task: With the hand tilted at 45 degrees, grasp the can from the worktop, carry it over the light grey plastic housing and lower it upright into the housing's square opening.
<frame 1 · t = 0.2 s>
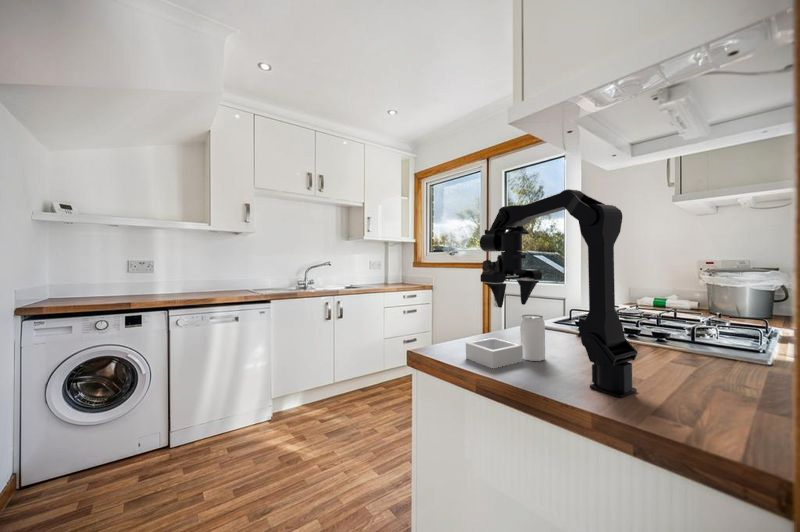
hand: (511, 305, 95), 15 cm above the counter, tool pointing down, fingers open, 9 cm apart
housing: (493, 359, 94), on the counter
can: (532, 359, 94), on the counter
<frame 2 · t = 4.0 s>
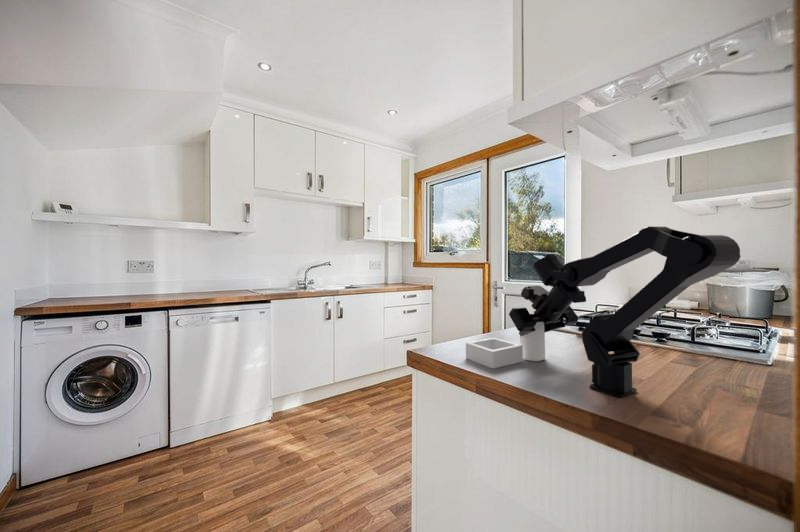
hand: (529, 333, 95), 7 cm above the counter, tool tilted 45°, fingers closed on can, 6 cm apart
can: (532, 358, 94), on the counter, touching gripper
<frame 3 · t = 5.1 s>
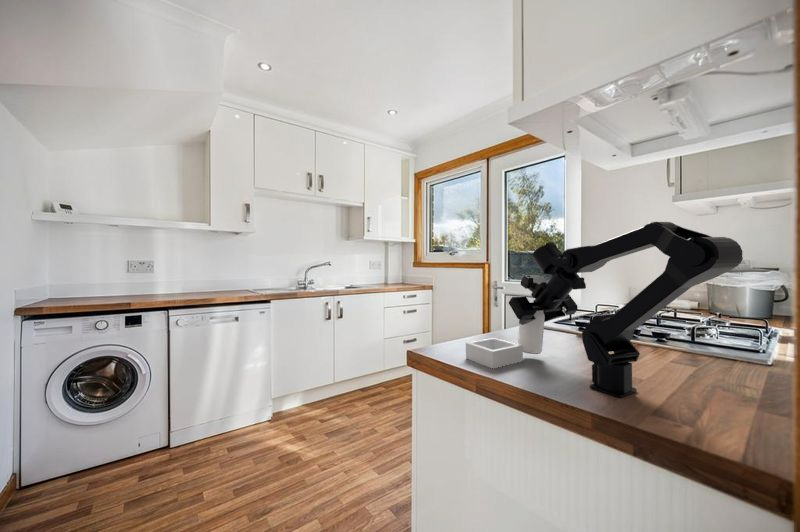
hand: (529, 323, 95), 10 cm above the counter, tool tilted 45°, fingers closed on can, 6 cm apart
can: (529, 351, 94), point 2 cm above the counter, touching gripper
when the fingers open (8 cm above the counter, at t = 8.2 s): can stays where it is, resting in housing.
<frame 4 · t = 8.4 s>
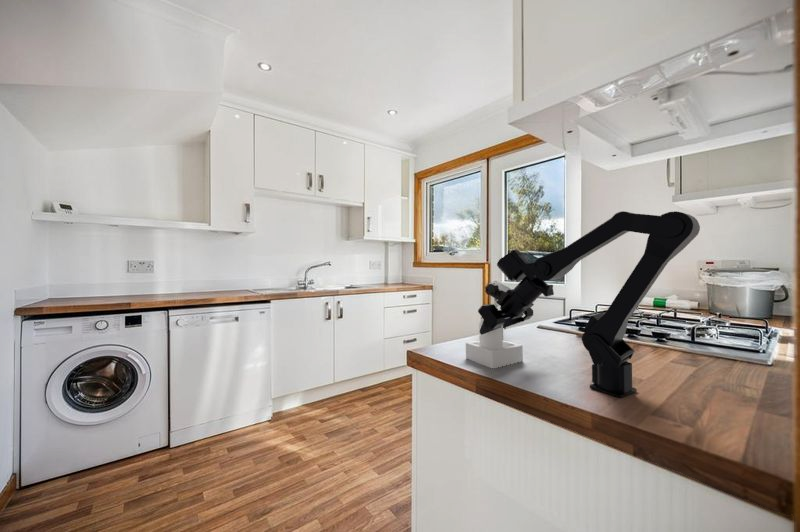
hand: (489, 330, 95), 8 cm above the counter, tool tilted 45°, fingers open, 7 cm apart
can: (491, 361, 93), resting in housing, touching gripper
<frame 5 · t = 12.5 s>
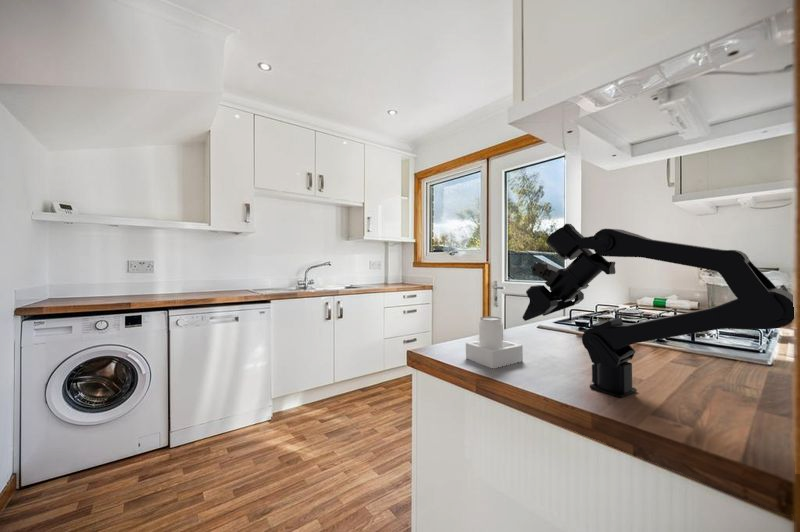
hand: (533, 316, 85), 14 cm above the counter, tool tilted 45°, fingers open, 9 cm apart
can: (491, 361, 93), resting in housing
at the end: can 1.0 cm off-centre on the housing, point 0.0 cm above the housing's base; can tilted 0°; the gripper is holding nothing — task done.
